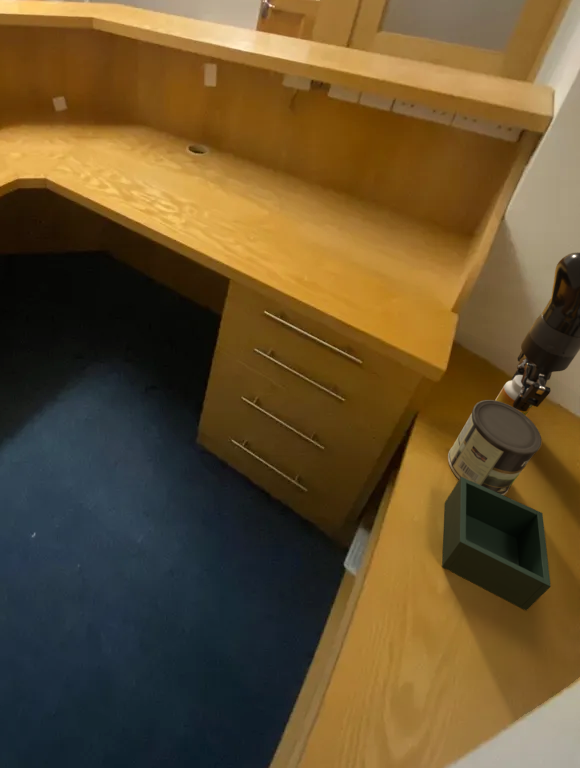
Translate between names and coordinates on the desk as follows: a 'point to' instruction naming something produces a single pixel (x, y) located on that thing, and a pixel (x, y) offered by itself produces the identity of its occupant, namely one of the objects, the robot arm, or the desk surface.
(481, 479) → the coffee can
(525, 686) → the desk surface
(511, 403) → the supplement bottle
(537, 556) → the bin
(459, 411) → the desk surface
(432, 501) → the desk surface
